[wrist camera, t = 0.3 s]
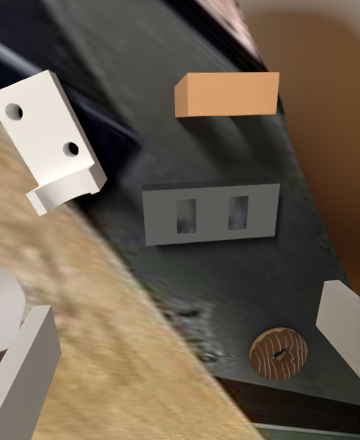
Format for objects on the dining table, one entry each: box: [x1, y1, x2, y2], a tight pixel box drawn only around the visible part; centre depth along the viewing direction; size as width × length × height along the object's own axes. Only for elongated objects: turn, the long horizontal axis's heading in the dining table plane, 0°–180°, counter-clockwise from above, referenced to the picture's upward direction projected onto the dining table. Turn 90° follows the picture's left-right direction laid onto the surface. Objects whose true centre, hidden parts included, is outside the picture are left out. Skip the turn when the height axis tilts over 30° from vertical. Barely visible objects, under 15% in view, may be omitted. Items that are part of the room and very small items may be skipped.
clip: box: [175, 72, 279, 117], centre depth 30 cm, size 4×8×10 cm, turn 91°
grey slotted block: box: [142, 178, 280, 246], centre depth 38 cm, size 8×18×4 cm, turn 91°
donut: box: [250, 327, 308, 380], centre depth 49 cm, size 11×11×4 cm
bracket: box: [0, 70, 107, 216], centre depth 31 cm, size 13×7×8 cm, turn 21°
